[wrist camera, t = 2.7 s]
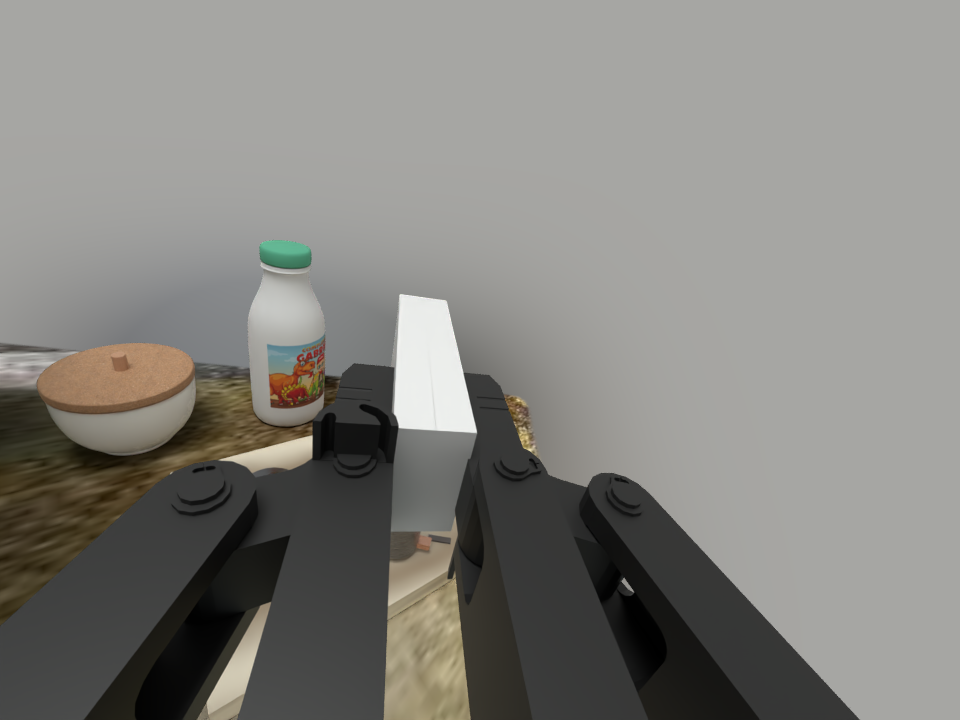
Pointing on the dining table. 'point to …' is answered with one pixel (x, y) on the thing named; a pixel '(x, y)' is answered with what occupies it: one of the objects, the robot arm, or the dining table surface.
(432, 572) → the dial board
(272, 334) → the milk bottle
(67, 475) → the dining table surface
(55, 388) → the lidded jar
